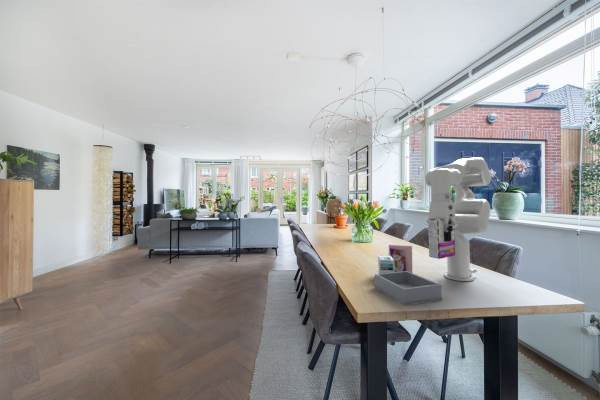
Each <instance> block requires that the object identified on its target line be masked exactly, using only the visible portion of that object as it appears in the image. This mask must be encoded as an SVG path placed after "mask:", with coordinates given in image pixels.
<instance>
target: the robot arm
mask: <svg viewBox="0 0 600 400" xmlns="http://www.w3.org/2000/svg"><path fill="white" fill-rule="evenodd" d="M424 180H425V181H424V182H425V184H426V185H427V186H428V187H430V202H429V208H428V209H429V210H428V219H433V218H437V219H442V220H443V225H444V229H445V232H444V241H445V242H449V241H451V232H452V231H453V229H454V236H455V255H454V256H450V257H446V258H447V259H446V260H447V263H446V264H447V266H446V267H447V268H446V269H447V271H446V272H444V273H443V276H444V278H447V279H449V280H452V281H458V282H471V281H474V279H475V277H474V276H473V275H472V274H476V273H478V270H477V269H476V268H471V264H470V263H471V262H470V261H471V260H470V257H471V255H470V253H471V252H470V251H471V250H470V247H471V245H470V244H471V243H470V241H469V239H468V238H467V237H466V235H480V236H482V235H484V234H485V233H487V230H488V225H489V221H490V215H491V204H490V202H489V201H488V200H487V199H485V198H476V195H475V193H474V192H473V191H472V190H471V189H470V188H468V187H484V186H485V187H486V186H489V184H490V183H491V181H492V175H491V171H490V169H489V166H488V164H487V161H486V160H485V159H484V158H483V157H469V158H467V157H466V158H460V159H457V160H455V161H454V162H451V163H449V164H445V165H442V166H438V167H435V168H432V169H430V170H428V171H427V172H426V174H425V176H424ZM452 187H453V189H454V192H455V199H454V201H453V200H452V198H453V195H452ZM428 219H427V220H426V222H427V223H428ZM447 226H448V227H447Z"/></svg>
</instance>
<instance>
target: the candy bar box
mask: <svg viewBox="0 0 600 400" xmlns="http://www.w3.org/2000/svg"><path fill="white" fill-rule="evenodd" d="M427 220H428V222H427V225H428V226H427V229H428V256H429V258H433V259H437V260H438V259H439V260H440V259H446V258H447V257H450V256H454V255H455V236H454V229H453V231H452V232H451V241H449V242H445V241H444V232H445V229H444V225H443V220H442V219H437V218H433V219H429V218H427ZM447 227H448V226H447Z"/></svg>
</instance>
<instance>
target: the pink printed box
mask: <svg viewBox="0 0 600 400" xmlns="http://www.w3.org/2000/svg"><path fill="white" fill-rule="evenodd" d="M388 256H392V258H393V259H394V264H395V272H402V271H408V272H411V273H413V246H412V245H398V244H396V245H395V244H388Z"/></svg>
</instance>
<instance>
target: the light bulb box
mask: <svg viewBox="0 0 600 400" xmlns="http://www.w3.org/2000/svg"><path fill="white" fill-rule="evenodd" d="M377 259H378V264H377V265H378V267H377V268H378V274H383V273H392V272H395V264H394V259H393V258H392V256H389V255H383V254H382V255H381V254H380V255H379V254H378V256H377Z"/></svg>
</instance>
